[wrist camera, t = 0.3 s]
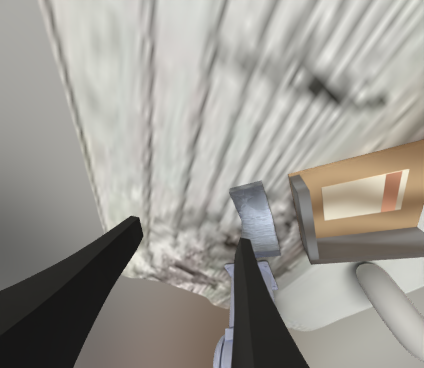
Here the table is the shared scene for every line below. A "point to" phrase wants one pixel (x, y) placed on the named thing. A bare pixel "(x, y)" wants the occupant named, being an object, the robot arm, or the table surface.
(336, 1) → the table surface
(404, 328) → the donut
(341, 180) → the tray
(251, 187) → the bracket
